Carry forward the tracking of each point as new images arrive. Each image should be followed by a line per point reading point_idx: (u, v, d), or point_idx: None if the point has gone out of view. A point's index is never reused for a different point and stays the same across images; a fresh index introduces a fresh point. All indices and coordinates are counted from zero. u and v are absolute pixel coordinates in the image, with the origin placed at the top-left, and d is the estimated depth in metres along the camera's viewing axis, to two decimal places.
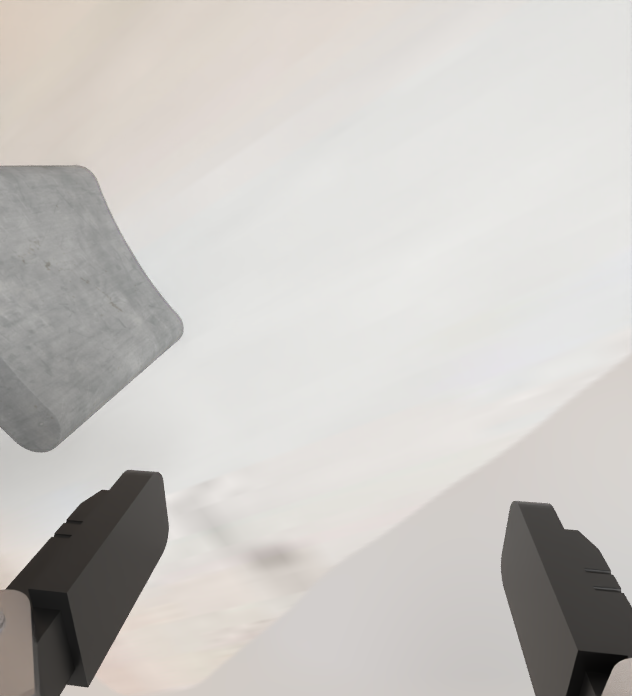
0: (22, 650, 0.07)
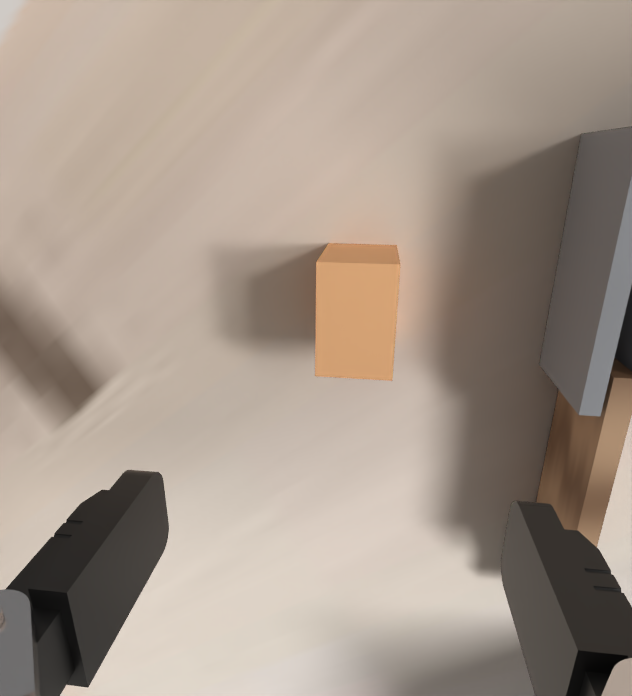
0: (22, 650, 0.07)
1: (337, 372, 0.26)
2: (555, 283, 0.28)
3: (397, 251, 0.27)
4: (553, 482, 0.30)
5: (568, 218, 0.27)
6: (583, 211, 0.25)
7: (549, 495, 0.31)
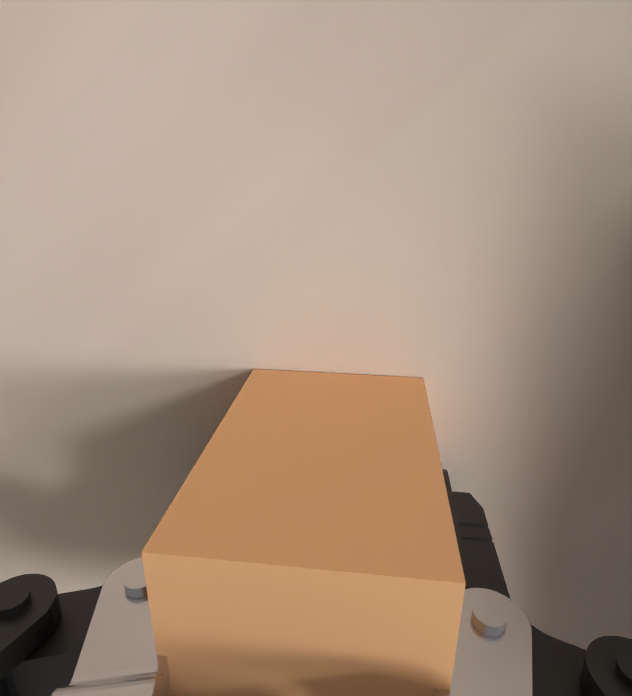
0: None
1: None
2: None
3: (432, 425, 0.09)
4: None
5: None
6: None
7: None
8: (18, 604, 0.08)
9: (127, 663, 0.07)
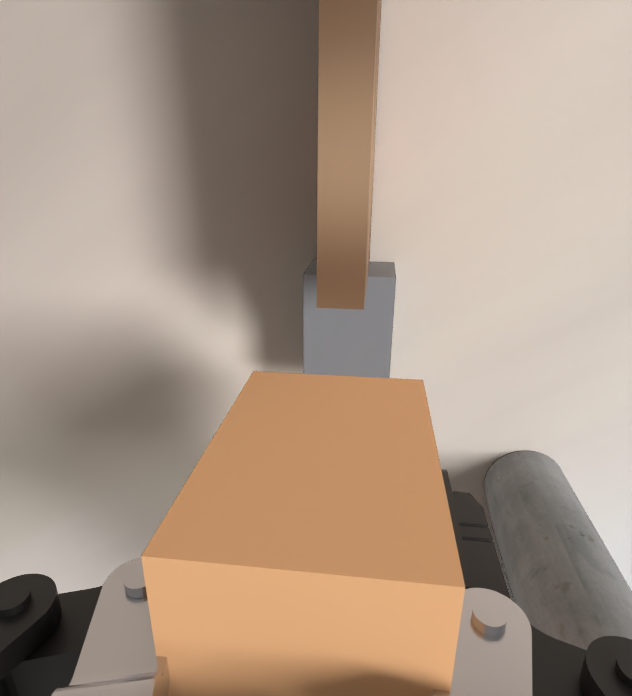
0: None
1: None
2: None
3: (431, 427, 0.09)
4: None
5: None
6: None
7: None
8: (18, 604, 0.08)
9: (127, 663, 0.07)
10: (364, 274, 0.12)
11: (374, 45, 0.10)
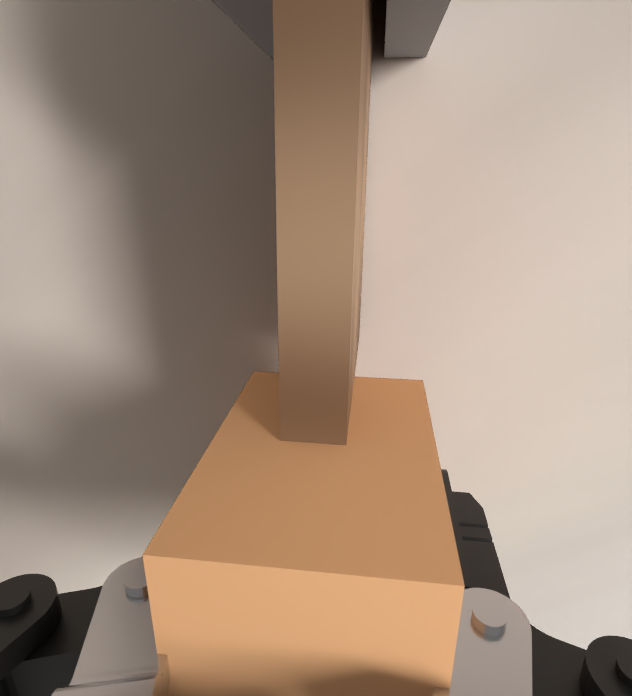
0: None
1: None
2: None
3: (431, 427, 0.09)
4: None
5: None
6: None
7: None
8: (18, 604, 0.08)
9: (127, 663, 0.07)
10: (346, 399, 0.08)
11: (358, 80, 0.07)
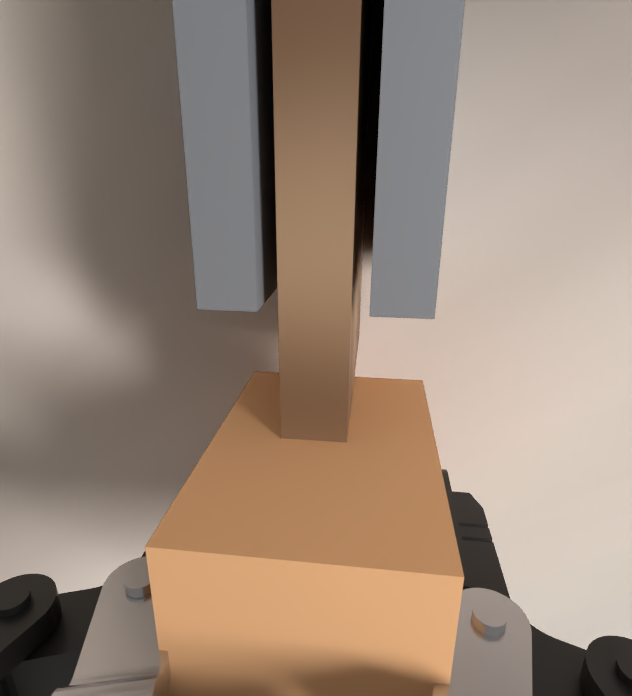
0: None
1: None
2: None
3: (431, 426, 0.09)
4: None
5: None
6: None
7: None
8: (18, 604, 0.08)
9: (127, 663, 0.07)
10: (346, 397, 0.09)
11: (357, 80, 0.07)
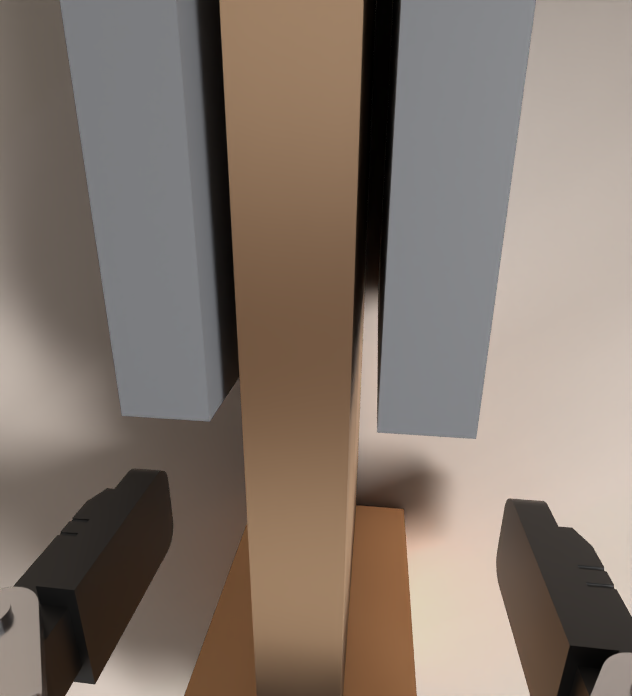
0: (31, 646, 0.07)
1: None
2: None
3: (407, 574, 0.11)
4: None
5: None
6: None
7: None
8: None
9: None
10: None
11: (347, 439, 0.05)
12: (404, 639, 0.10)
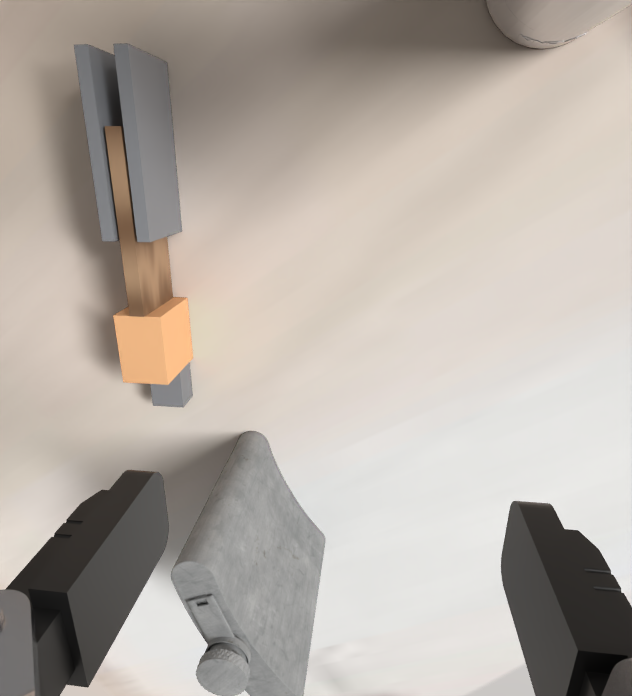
0: (22, 650, 0.07)
1: (135, 380, 0.42)
2: None
3: (177, 304, 0.43)
4: None
5: None
6: None
7: None
8: None
9: None
10: (142, 306, 0.39)
11: (134, 244, 0.38)
12: (168, 309, 0.42)
